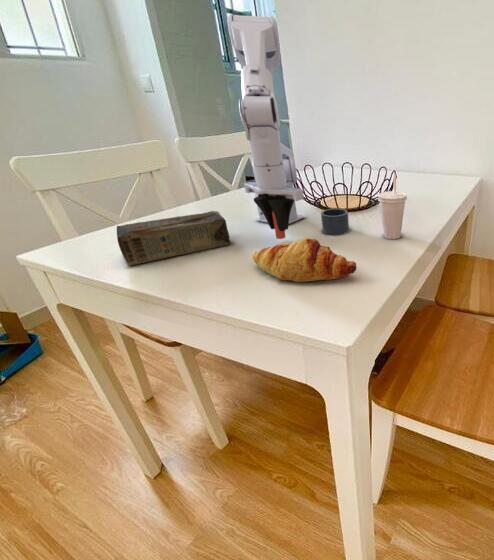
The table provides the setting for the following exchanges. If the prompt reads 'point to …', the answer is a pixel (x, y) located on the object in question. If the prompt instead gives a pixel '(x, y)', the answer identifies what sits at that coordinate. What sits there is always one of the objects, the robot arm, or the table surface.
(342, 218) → the cup
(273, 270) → the croissant
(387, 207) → the smoothie
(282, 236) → the red rectangular block
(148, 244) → the coffee bag
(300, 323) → the table surface
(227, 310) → the table surface
